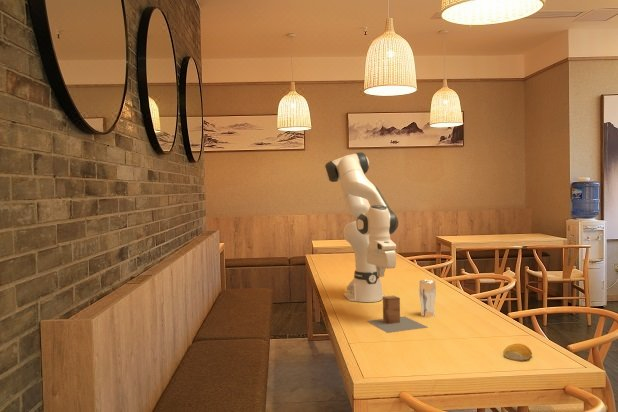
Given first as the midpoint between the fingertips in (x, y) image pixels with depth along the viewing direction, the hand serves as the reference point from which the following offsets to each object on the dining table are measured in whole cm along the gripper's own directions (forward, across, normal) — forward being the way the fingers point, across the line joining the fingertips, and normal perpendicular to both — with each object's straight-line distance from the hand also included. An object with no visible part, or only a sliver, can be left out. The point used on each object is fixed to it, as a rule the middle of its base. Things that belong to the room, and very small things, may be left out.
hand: (380, 276), depth 215 cm
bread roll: (+19, +59, +18) cm, 65 cm away
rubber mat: (+18, +12, 0) cm, 22 cm away
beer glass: (+18, +5, +19) cm, 27 cm away
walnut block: (+17, +8, 0) cm, 19 cm away
